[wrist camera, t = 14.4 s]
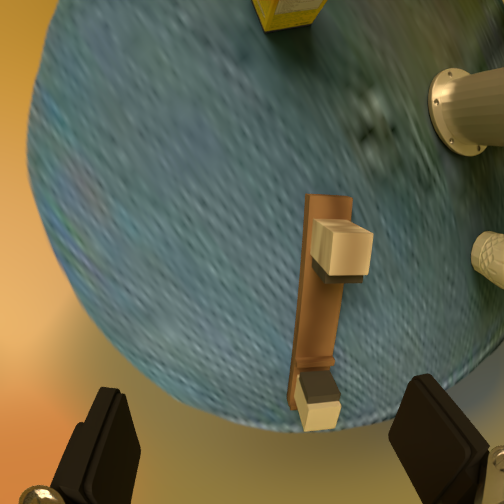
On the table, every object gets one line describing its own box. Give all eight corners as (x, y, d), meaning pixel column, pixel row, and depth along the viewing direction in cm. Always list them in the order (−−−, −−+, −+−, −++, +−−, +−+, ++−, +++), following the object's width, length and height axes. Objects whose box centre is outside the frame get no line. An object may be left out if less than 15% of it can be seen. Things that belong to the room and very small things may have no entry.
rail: (346, 195, 36) (380, 207, 27) (319, 394, 44) (335, 436, 35) (305, 193, 36) (330, 204, 27) (286, 397, 43) (298, 441, 35)
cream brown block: (327, 365, 40) (343, 398, 33) (321, 394, 41) (334, 428, 35) (298, 367, 40) (310, 402, 33) (294, 396, 41) (304, 431, 34)
